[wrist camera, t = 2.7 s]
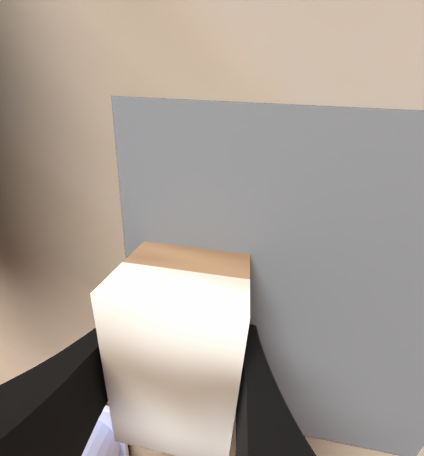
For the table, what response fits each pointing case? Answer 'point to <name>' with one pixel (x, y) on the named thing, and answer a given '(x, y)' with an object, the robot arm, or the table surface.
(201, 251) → the metal box
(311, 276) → the desk mat
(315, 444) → the table surface
